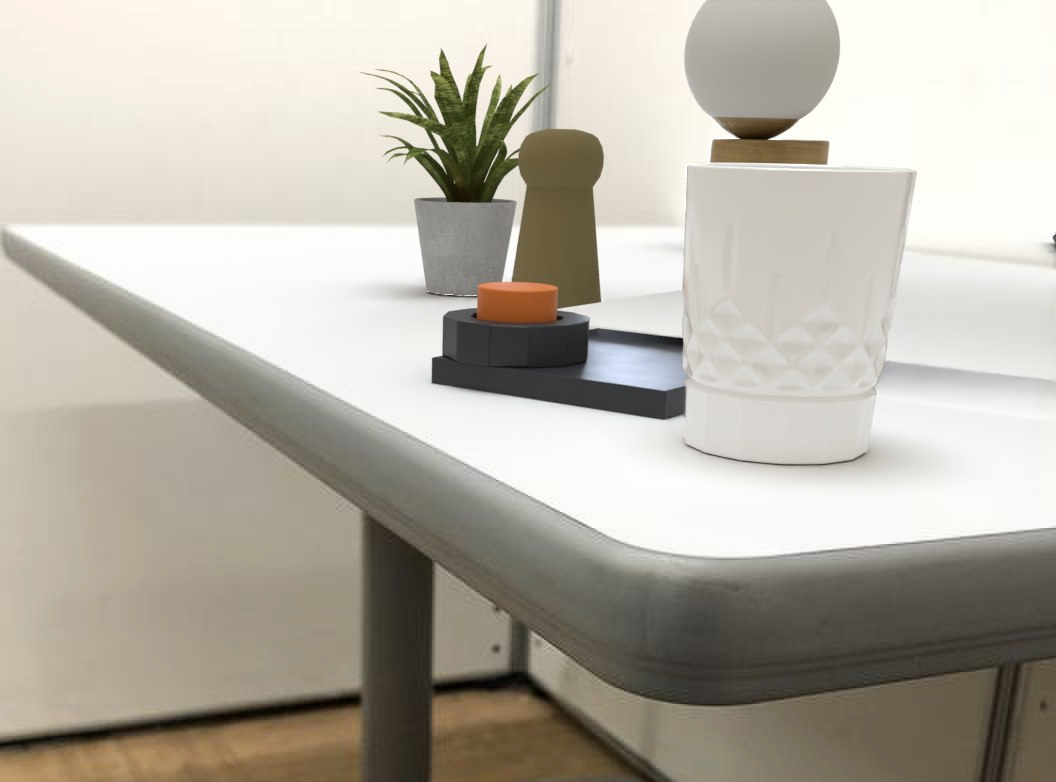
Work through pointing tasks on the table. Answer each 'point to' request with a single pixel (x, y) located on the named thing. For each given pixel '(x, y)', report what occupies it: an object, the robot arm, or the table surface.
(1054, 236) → the robot arm
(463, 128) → the house plant
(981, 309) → the table surface
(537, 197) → the cork
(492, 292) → the button
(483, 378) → the scale
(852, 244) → the white cup
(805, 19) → the lamp
